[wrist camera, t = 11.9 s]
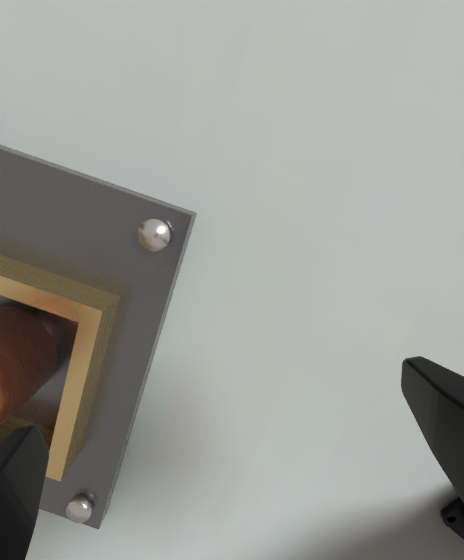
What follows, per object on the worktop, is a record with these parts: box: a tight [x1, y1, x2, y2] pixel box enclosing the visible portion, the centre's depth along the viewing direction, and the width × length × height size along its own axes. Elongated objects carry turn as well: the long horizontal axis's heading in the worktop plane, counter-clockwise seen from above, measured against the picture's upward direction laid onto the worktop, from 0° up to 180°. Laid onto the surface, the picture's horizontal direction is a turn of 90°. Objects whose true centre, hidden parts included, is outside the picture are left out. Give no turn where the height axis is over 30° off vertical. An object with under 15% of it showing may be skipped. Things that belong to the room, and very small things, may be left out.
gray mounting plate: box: [0, 145, 196, 529], centre depth 22 cm, size 16×22×4 cm
